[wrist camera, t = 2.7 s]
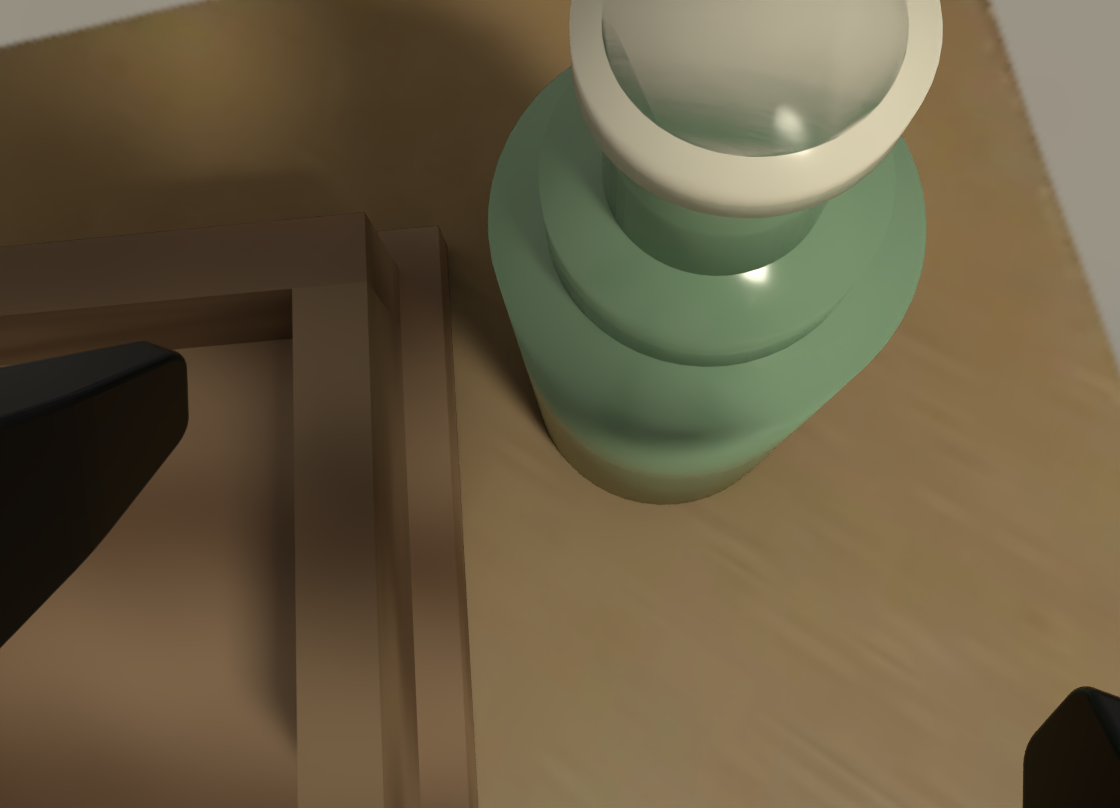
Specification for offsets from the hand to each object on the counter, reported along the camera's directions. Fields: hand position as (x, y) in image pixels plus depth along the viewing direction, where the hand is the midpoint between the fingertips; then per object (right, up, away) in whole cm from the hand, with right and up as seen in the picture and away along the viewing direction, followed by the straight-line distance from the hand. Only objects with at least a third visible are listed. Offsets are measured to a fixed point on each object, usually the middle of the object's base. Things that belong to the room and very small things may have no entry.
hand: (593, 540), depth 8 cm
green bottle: (+2, +2, +12) cm, 13 cm away
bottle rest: (-10, -2, +12) cm, 15 cm away
